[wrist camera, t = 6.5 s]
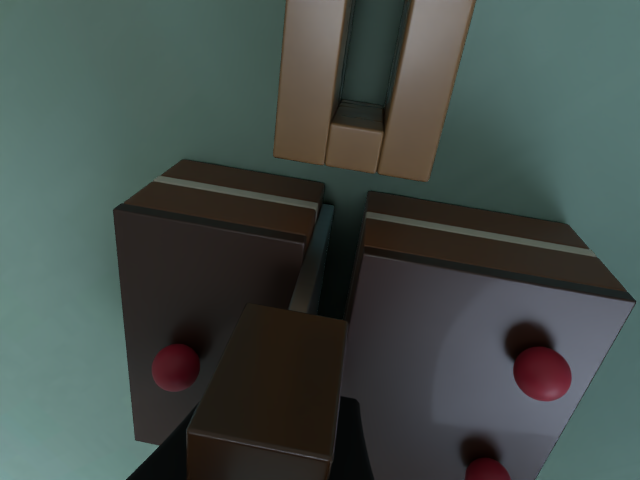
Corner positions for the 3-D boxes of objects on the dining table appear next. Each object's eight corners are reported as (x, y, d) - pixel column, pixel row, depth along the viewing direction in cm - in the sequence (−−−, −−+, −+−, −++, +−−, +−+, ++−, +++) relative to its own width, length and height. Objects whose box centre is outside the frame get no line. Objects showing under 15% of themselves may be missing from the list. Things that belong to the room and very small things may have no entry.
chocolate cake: (569, 223, 13) (666, 334, 9) (486, 411, 17) (524, 557, 12) (367, 189, 13) (360, 279, 9) (330, 382, 17) (312, 514, 13)
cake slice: (325, 182, 14) (296, 268, 9) (297, 375, 17) (267, 504, 13) (182, 158, 14) (83, 229, 9) (184, 354, 17) (115, 473, 13)
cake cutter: (361, 206, 13) (333, 460, 6) (328, 382, 17) (282, 686, 9) (296, 195, 13) (184, 430, 6) (275, 372, 17) (188, 665, 9)
